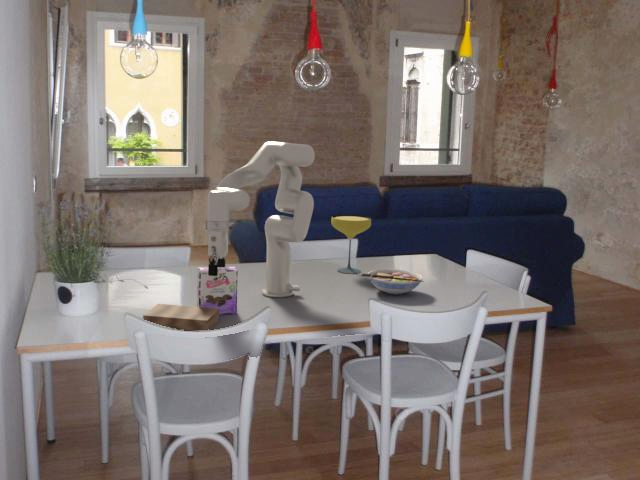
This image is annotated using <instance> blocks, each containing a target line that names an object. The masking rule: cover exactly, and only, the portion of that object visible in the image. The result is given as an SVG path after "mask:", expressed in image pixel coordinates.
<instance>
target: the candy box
mask: <svg viewBox="0 0 640 480" xmlns="http://www.w3.org/2000/svg"><path fill="white" fill-rule="evenodd" d="M238 272H239V271H238V269H237V267H236V266H225V267H218V275H217V276H209V275H208V267H200V266H199V267H198V266H197V286H196V287H197V291H196V292H197V295H196V296H197V298H196V299H197V300H196V307H204V308H217V309H219V315H236V314H238Z"/></svg>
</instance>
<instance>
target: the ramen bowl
mask: <svg viewBox="0 0 640 480" xmlns="http://www.w3.org/2000/svg"><path fill="white" fill-rule="evenodd" d="M360 276H361V277H367V278H368V279H369V281H370V283H371V284H372V285H373V286H374V287H375V288H377V289H378V290H380V291H382V292H384V293H386V294H388V295H392V294H395V296H398V294H400V295H403V294H405V293H408V292H411V291H413V290H415V289H416V288H417V287H418V286H419V285H420V284H421V283H422V282H424V280H423V279H424V278H423V275H422V274H420V273H417V272H415V271H411V270H406V269H399V268H397V269H395V268H379V269H374V270H373V269H372V270H371V271H368V272H367V273H362V274H361V275H360Z"/></svg>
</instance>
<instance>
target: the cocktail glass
mask: <svg viewBox="0 0 640 480" xmlns="http://www.w3.org/2000/svg"><path fill="white" fill-rule="evenodd" d="M330 222H331V226H332V227H333V228H334V229H335V230H337V231H338V232H340V233H342V234H344V235H345V237H347V239H348V240H349V244H348V261H347V266H346V267H341V268H340V267H339V268H337V269H338V271H340V272H344V273H343V274H345V273H356V274H359V273H358V272H360V273H361V270H360V269H359V268H355V267H352V266H351V246H352V245H351V244H352V240H353V239H354V238H355V237H356V236H357V235H359V234H361V233H364V232H365V231H367V230H369V229H370V228H371V226H372V218H371V217H369V216H366V215H362V214H347V213H345V214H334V215H333V216H331V220H330ZM338 271H337V272H338ZM340 272H339V273H340Z"/></svg>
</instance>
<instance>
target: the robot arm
mask: <svg viewBox="0 0 640 480" xmlns="http://www.w3.org/2000/svg"><path fill="white" fill-rule="evenodd" d="M315 154H316V153H315V150H314V148H313V146H311V145H310V144H301V143H292V142H285V141H284V142H283V141H273V140H271V141H266V142H264V143H263V144H262V145H261V146H260V148H259V149H258V150H257V151H256V152H255V154H254V155H253V156H252V157H251V158H250V160H249V161H248V162H247V164H245V165H244V166H241V167H240V168H238V169H236V170H234V171H232V172H231V173H229V174H227V175H226V176H225V177H224V178H223V179H221V181H220V182H219V183H218V184H217V186H216V187H215V189H211V190H210V191H208V195H207V217H206V218H207V220H206V221H207V224H206V227H207V228H206V229H207V230H208V231H209V232H208V245H207V248H208V249H207V255H208V275H209V276H217V275H218V267H226V256H227V255H228V254H229V233H228V231H229V228H230V227H229V226H230V211H242V210H245V209H246V208H248V207H249V205H250V203H251V198H250V195H249V193H248V192H247V191H245V190H244V189H241V188H244V187H247V186H253V185H255V184H259V183H261V182H263V181H265V179H266V178H267V176H268V175H269V174H270V173H271V171H272V170H273V169H274V168H275V166H277V165H278V166H279V169H280V180H279V184H278V188H277V192H276V196H275V201H274V206H275V209H276V210H277V211H278V212H280V213H285V214H290V215H293V217H292V216H287V215H279V214H274V215H270V216H269V217H268V218H267V219H266V220H265V224H264V233H265V240H266V241H265V242H266V262H265V263H266V265H265V267H266V268H265V287H264V288H262V289H261V294H262V295H263V296H265V297H270V298H286V297H291V296H293V294H294V292H300V291H301V286H299V285H293V284H292V281H291V259H292V257H291V256H292V254H291V253H292V251H291V246H290V244H289V242H290V243H301V242H303V241H304V240H305V239H306V237H307V234H308V231H309V227H310V224H311V220H312V215H313V211H314V207H315V206H314V205H315V200H314V197H313V195H312V194H311V193H310V192H308V191H304V190H301V188H302V183H303V175H302V172H301V169H300V168H299V167H303V168H306V167H310V166H311V165H312V164H313V163H314V161H315V157H316V155H315Z"/></svg>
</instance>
